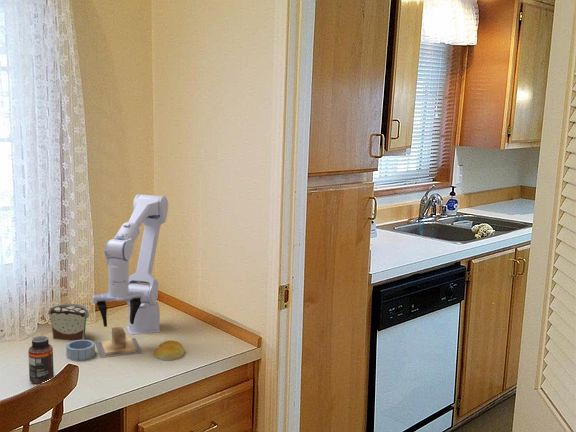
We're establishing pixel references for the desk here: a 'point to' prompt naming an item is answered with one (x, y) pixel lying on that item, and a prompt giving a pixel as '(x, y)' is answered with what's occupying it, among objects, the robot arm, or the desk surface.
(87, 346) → the bowl
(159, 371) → the desk surface
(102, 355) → the mat
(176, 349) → the bread roll
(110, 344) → the lid
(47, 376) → the supplement bottle
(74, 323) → the food container
